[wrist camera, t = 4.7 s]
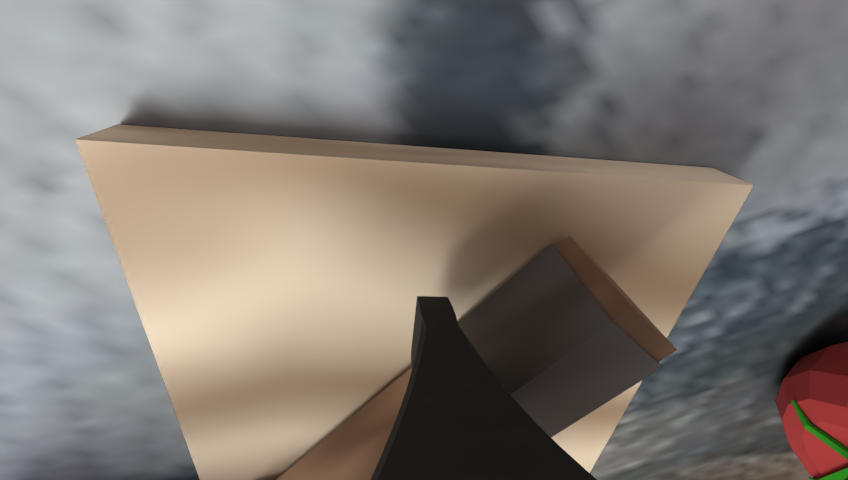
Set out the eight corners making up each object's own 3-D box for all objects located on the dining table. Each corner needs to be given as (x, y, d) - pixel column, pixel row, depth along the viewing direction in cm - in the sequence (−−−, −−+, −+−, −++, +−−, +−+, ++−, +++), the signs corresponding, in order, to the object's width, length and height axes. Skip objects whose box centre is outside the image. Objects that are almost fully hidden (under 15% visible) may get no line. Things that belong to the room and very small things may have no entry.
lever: (290, 524, 17) (271, 626, 14) (224, 505, 15) (188, 613, 13) (616, 282, 11) (694, 367, 8) (555, 221, 10) (623, 298, 7)
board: (555, 481, 20) (601, 603, 16) (230, 495, 18) (182, 641, 14) (712, 167, 11) (908, 251, 7) (118, 124, 9) (-113, 205, 5)
